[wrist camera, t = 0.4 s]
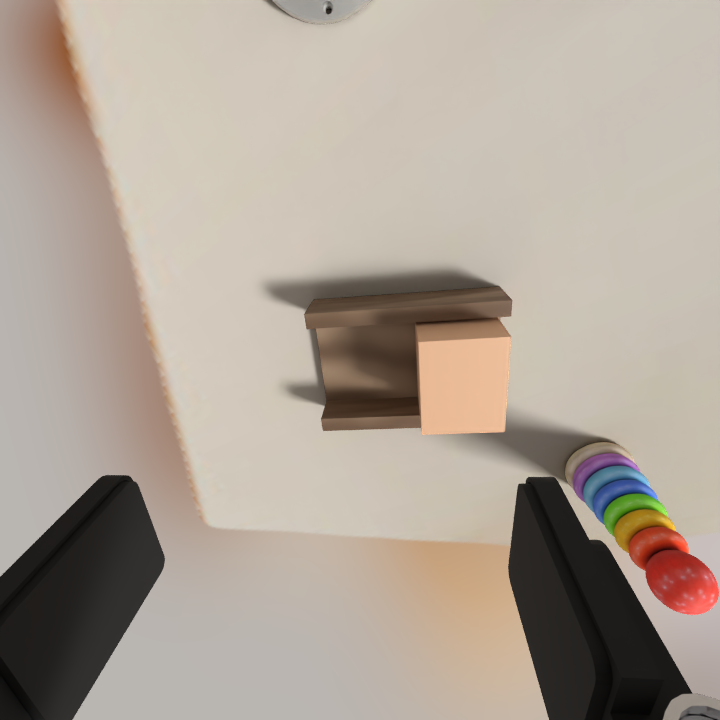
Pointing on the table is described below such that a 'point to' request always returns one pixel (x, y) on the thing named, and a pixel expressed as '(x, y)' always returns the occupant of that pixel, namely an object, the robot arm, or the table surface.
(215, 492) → the table surface
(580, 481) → the stacking toy
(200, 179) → the table surface
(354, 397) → the chute
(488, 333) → the block
